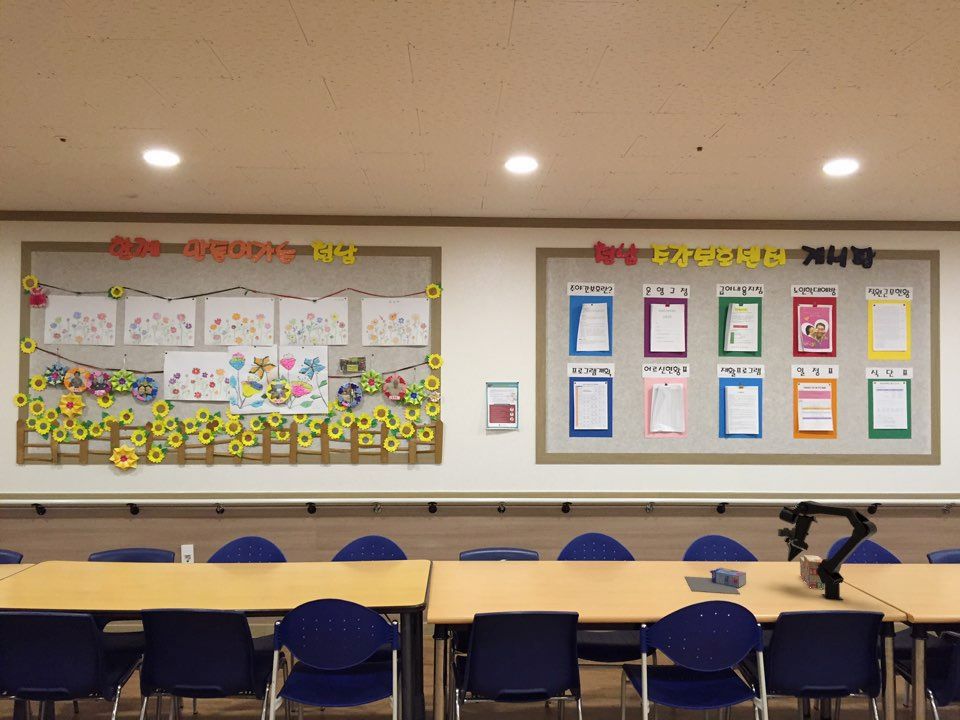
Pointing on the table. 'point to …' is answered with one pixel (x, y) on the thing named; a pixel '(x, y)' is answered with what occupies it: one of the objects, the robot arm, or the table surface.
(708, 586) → the mat
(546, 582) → the table surface
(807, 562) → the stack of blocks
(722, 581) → the ink cartridge box
